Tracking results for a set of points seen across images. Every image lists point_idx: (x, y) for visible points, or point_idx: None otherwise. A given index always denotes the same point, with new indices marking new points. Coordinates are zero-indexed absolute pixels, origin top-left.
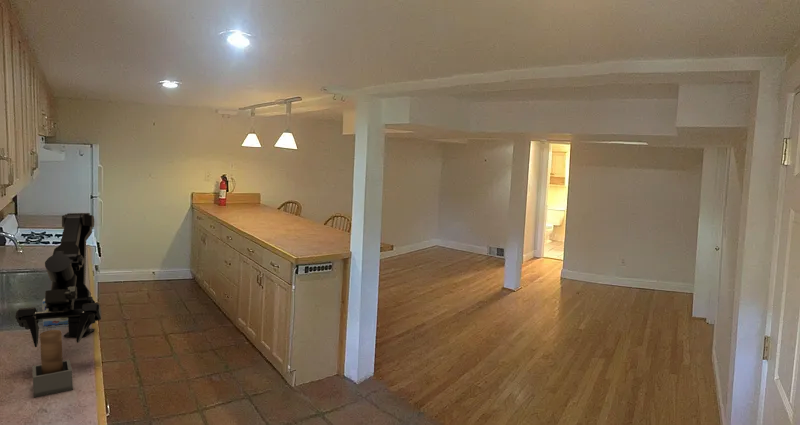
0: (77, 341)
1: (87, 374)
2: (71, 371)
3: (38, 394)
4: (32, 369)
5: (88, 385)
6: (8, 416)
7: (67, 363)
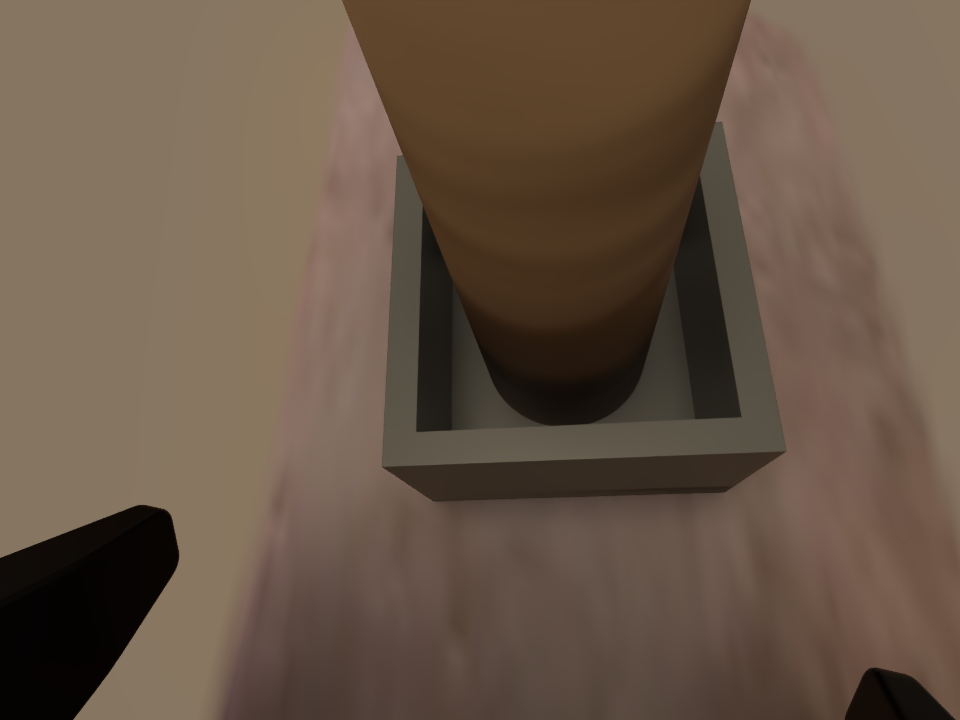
0: (157, 508)
1: (303, 512)
2: (403, 162)
3: None
4: (763, 336)
5: (336, 286)
6: (797, 43)
7: (414, 346)
